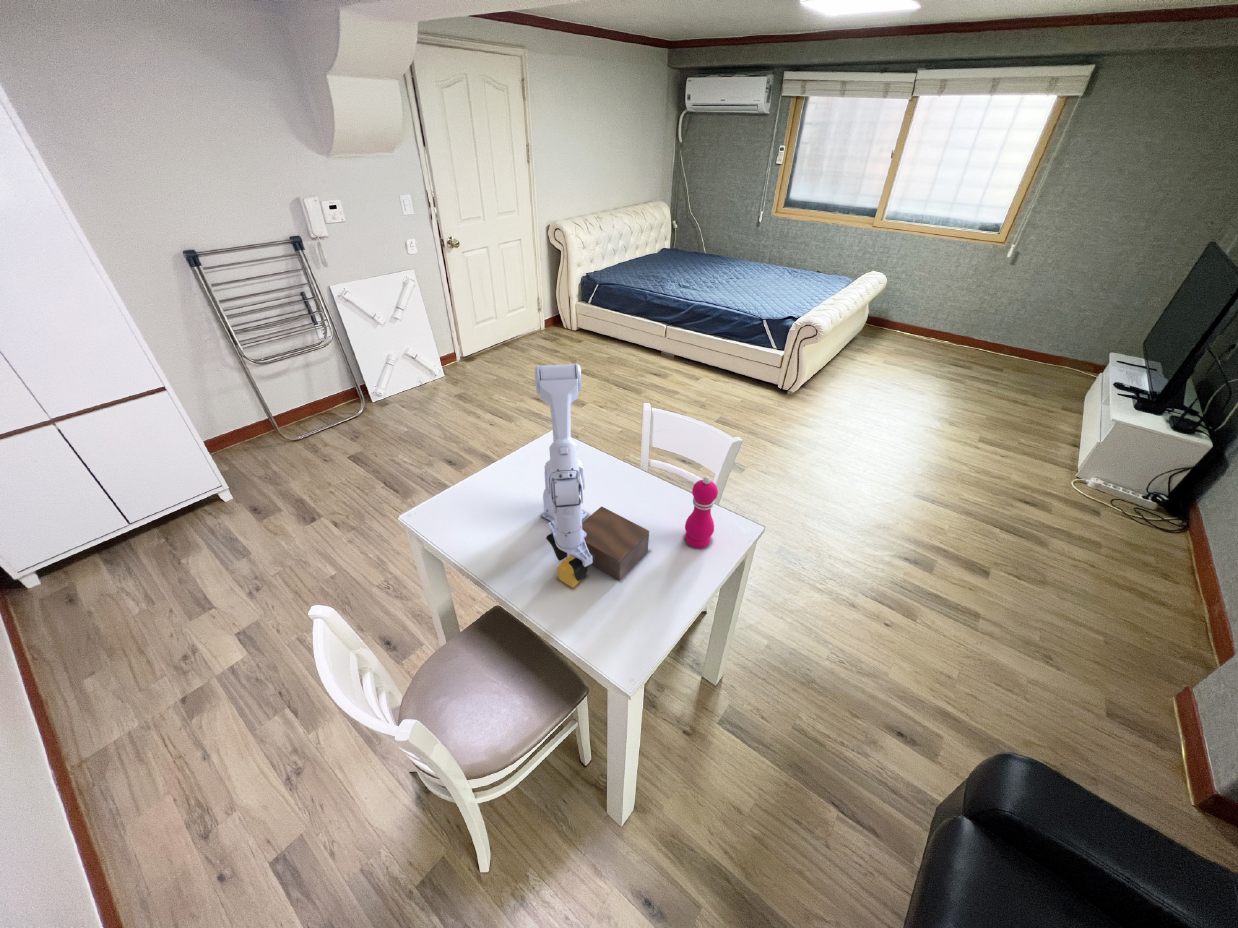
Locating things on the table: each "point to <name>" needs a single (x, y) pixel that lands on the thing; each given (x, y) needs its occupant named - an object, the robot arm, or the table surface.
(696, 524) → the pepper mill
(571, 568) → the mustard block
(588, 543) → the box lid
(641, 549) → the box
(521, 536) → the table surface
